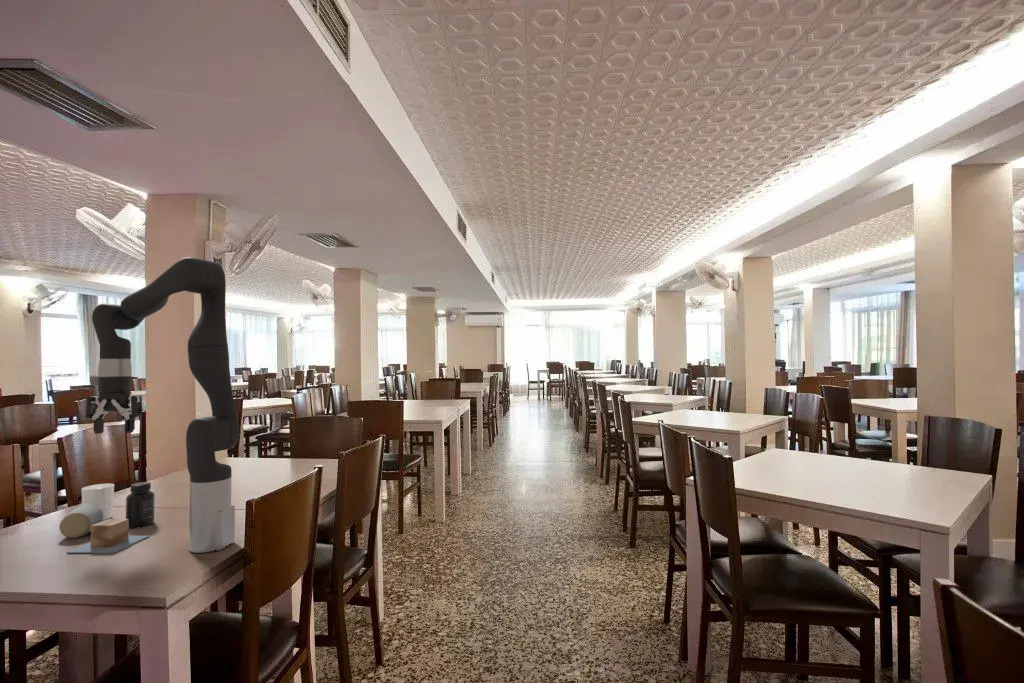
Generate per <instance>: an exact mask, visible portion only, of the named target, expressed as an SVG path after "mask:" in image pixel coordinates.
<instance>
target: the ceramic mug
mask: <svg viewBox="0 0 1024 683" xmlns="http://www.w3.org/2000/svg"><path fill="white" fill-rule="evenodd" d="M102 521H105V520H103V512H102V510H101V509H100V508H99V507H98V506H96V505H93V504H83V505H82V504H81V505H78V506H77V507H76V508H74V509H73V510H71V511H70V512H69V513H68V514H66V515H65V516H64V517H63V518H62V520H61V521H60V523H59V531H60V533H61V535H62V536H64V537H66V538H68V539H69V538H70V539H78V538H82V537H83V536H85V535H86V536H87V534H89V533H91V525H94V524H97V523H99V522H102Z"/></svg>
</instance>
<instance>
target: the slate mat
mask: <svg viewBox="0 0 1024 683" xmlns="http://www.w3.org/2000/svg"><path fill="white" fill-rule="evenodd" d="M148 538H150V535H128V540H127V541H125V542H122V543H120V544H118V545H115V546H113V547H91V541H90V542H88V543H85V544H83V545H81V546H79V547H76V548H73V549H71V550H69V551H67V552H66V554H67V553H99V554H116V553H117V552H121V551H122V550H124V549H126V548H128V547H131V546H133V545H135V544H137V543H139V542H142V541H144V540H146V539H148Z"/></svg>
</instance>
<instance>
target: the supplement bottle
mask: <svg viewBox="0 0 1024 683" xmlns="http://www.w3.org/2000/svg"><path fill="white" fill-rule="evenodd" d="M151 486H152V484H151V482H150V481H144V482H135V483H132V484H130V490H129V491H130V493H129V494H128V495H127V496H126V498H125V519H129V529H137V527H140V528H143V526H145V527H147V526H146V525H148V526H150V525H149V524H151V525H153V524H154V522H155V508H156V506H155V503H156V502H155V499H156V498H155V492H153V491H152V490H151V489H152V487H151ZM152 523H153V524H152Z"/></svg>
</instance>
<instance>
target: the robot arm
mask: <svg viewBox="0 0 1024 683" xmlns="http://www.w3.org/2000/svg"><path fill="white" fill-rule="evenodd" d="M226 285H227V284H226V274H225V271H224V269H223V267H222V266H221V265H220V263H217V262H215V261H211V260H206V259H202V258H199V257H193V256H187V257H183V258H181V259H179V260H178V261H176V262H175V263H173V264H172V265H170V267H169V268H168V269H166V270H165V271H163V273H161V274H160V275H158V277H157V278H155V279H154V280H153V281H151V282H150V283H149V284H147V285H146V286H144V287H143V288H141V289H138V290H137V291H135V292H132V293H130V294H129V295H127V296H126V297H124V298H123V299H122V300H121V302H120V304H112V303H100V304H97V305H96V307H95V308H94V309H93V311H92V315H91V322H92V325H93V327H94V331H95V333H96V338H97V340H98V341H97V342H98V343H99V355H98V356H99V360H98V366H97V392H98V393H99V395H93V396H90V395H89V396H88V397H86V408H85V418H87V419H92V421H93V432H94V434H96V435H99V434H103V433H104V430H105V429H104V425H105V419H104V418H105V416H107V414H108V413H110V412H118V413H119V414H121V415H122V416H123V417H124V418H125V420H124V434H132V433H133V432H134V430H135V429H136V428H135V427H136V426H135V425H136V424H135V423H136V418H138V417H142V416H143V397H142V395H141V394H138V395H131V393H130V392H131V391H132V378H133V377H132V372H133V370H132V369H133V368H132V367H133V366H132V342H131V340H130V339H127V338H125V337H121V336H119V335H118V333H117V330H120V331H128V330H131V329H133V330H134V329H135V328H137V327H138V326H139V325H140V324H141V323H142V322H143V321H144V320H145V318H146V317H150V316H151V315H153V314H155V313H156V312H158V311H160V310H162V309H163V308H164V307H165V306H166V305H167V303H168V301H169V297H170V296H171V295H174V294H178V293H181V292H188V293H194V294H199V295H200V302H201V303H200V304H201V305H200V306H201V311H200V315H199V319H198V321H197V322H196V324H195V326H194V328H193V330H192V331H191V333H190V335H189V337H188V340H187V358H188V366H189V370H190V371H191V373H192V375H193V377H194V378H195V379H196V381H197V382H198V384H199V385H200V386H201V387H202V389H203V390H204V392H205V393H206V395H207V398H208V399H209V403H210V407H211V408H210V409H211V416H204V417H203V416H202V417H198V418H194V419H193V420H191V421H190V423H188V424H189V425H188V426H187V429H186V434H185V448H186V449H185V450H186V466H187V471H188V473H189V528H188V529H189V530H188V531H189V536H188V537H189V540H188V542H189V543H188V548H189V550H188V551H189V552H191V553H195V554H196V553H198V554H201V553H202V554H203V553H210V551H211V552H215V551H214V550H216V551H222V550H224V549H226V548H227V547H229V546H230V545H229V544H231V543H232V544H234V543H235V542H236V541H235V540H236V539H235V537H236V536H235V535H236V534H235V533H236V531H235V530H236V529H235V528H236V527H235V526H236V522H235V521H236V519H235V518H236V516H235V515H236V506H235V505H233V504H232V466H230V465H229V464H226V463H220V462H218V461H217V459H216V452H221V451H227V450H230V449H233V448H234V447H235V446H236V445H237V443H238V440H239V436H240V425H239V420H238V414H237V408H236V404H235V401H234V400H235V399H234V394H233V388H232V378H231V370H230V352H229V344H228V337H227V324H226V323H227V322H226V320H227V319H226V288H227V287H226ZM234 541H235V542H234ZM233 542H234V543H233ZM232 544H231V545H232ZM228 545H229V546H228ZM226 546H227V547H226ZM225 547H226V548H225ZM223 548H224V549H223ZM221 549H222V550H221Z"/></svg>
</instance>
